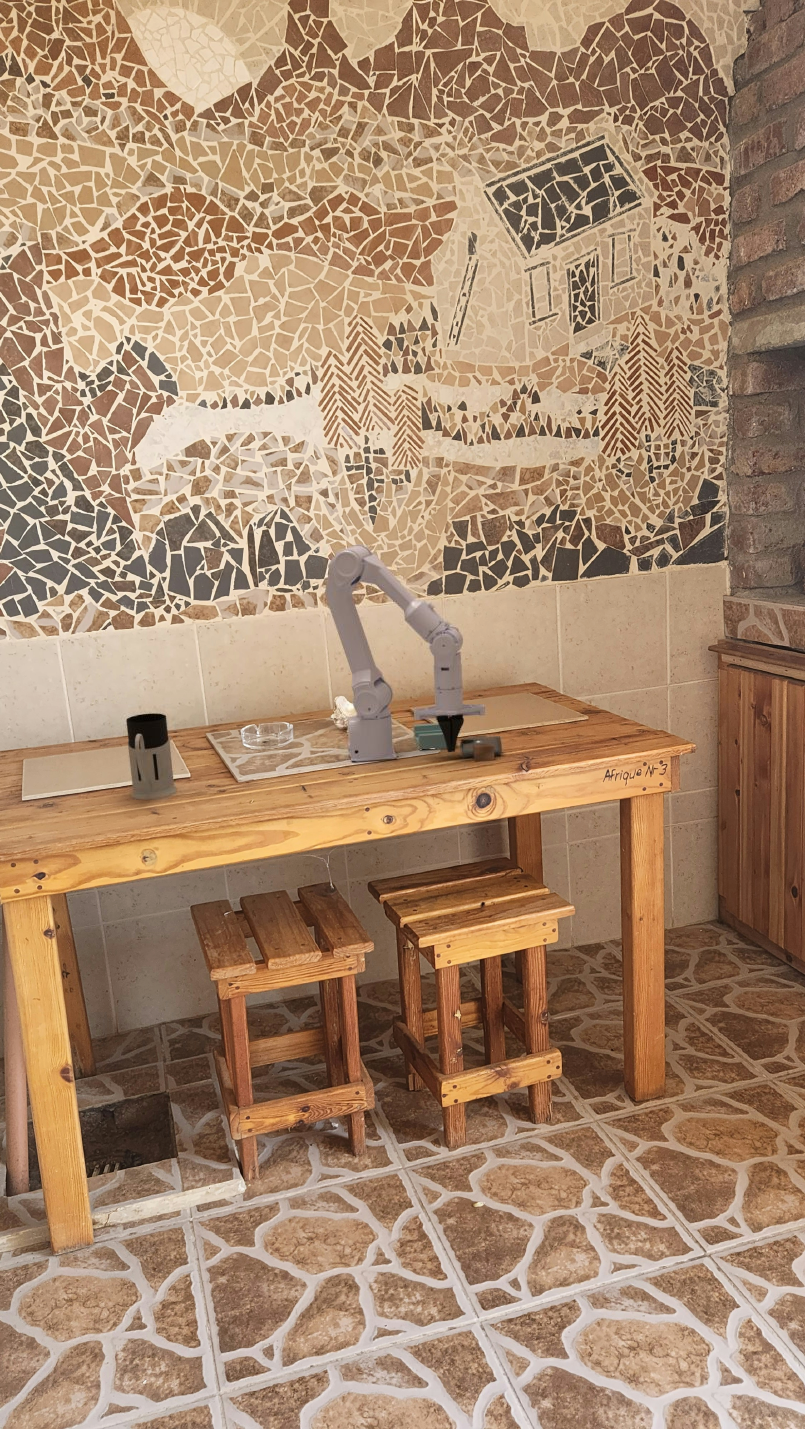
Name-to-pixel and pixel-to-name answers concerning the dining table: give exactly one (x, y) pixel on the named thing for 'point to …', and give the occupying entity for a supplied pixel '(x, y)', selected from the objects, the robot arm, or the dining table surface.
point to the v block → (429, 736)
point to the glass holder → (150, 757)
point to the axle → (468, 744)
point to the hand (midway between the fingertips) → (450, 750)
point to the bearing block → (483, 751)
